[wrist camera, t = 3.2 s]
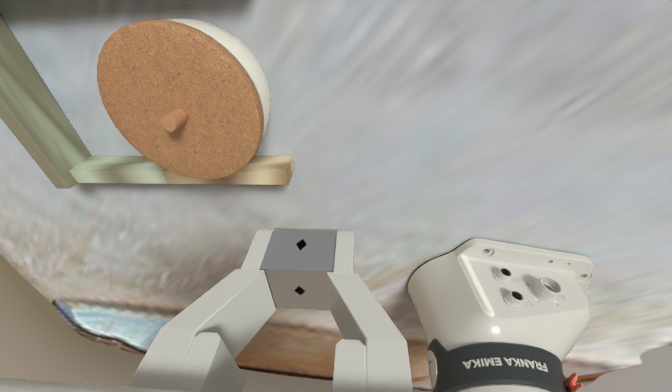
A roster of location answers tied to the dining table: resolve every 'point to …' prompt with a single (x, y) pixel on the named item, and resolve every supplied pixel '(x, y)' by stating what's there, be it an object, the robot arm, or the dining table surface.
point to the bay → (69, 151)
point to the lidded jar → (185, 95)
